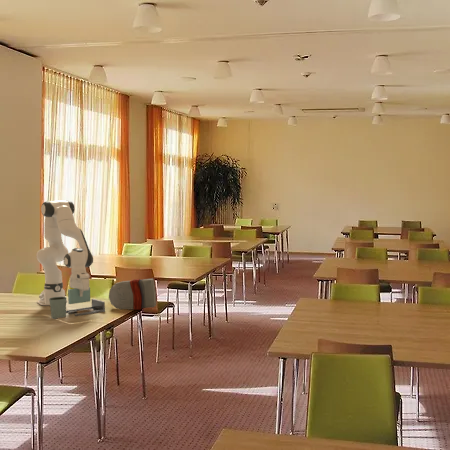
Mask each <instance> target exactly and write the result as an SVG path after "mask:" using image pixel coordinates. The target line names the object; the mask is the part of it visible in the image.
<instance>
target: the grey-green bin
mask: <svg viewBox="0 0 450 450" xmlns="http://www.w3.org/2000/svg"><path fill="white" fill-rule="evenodd" d="M66 300H67V296H65V297H53V298H50V299H49V301H50V305H49V306H50V314H51V316H50V317H51V319H52V320H58V319H60V318H65V317H67V313H66V310H67V302H66Z"/></svg>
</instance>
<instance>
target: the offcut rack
mask: <svg viewBox="0 0 450 450" xmlns="http://www.w3.org/2000/svg"><path fill="white" fill-rule="evenodd" d="M89 309H93V310H94V311H90V312H84V313H77V311H78V310H89ZM105 312H106V303H105V301H102V300H99V299H96V298H91V306H88V307H87V306H86V307H82V308H80V307H79V308H74V309H68V310H67V309H66V314H68V315H72V314H74V317H78V316H79V317H80V316H85V315H91V314H92V315H93V314H98V313H105Z"/></svg>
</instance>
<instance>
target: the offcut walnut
mask: <svg viewBox="0 0 450 450" xmlns="http://www.w3.org/2000/svg"><path fill="white" fill-rule="evenodd" d="M90 311H95V310H93V309H89V310H78V311H77V313H84V312H90ZM77 313H76V314H77Z"/></svg>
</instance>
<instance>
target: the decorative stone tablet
mask: <svg viewBox="0 0 450 450" xmlns="http://www.w3.org/2000/svg"><path fill="white" fill-rule="evenodd" d="M108 291H109V292H108V299H109V302H110V304H111V305H112V306H113V307H114V308H115V309H118V310H122V309H128V310H135V311H142V310H143V309H147V308H148V309H149V308H155V307H156V306H157V297H156V295H157V293H156V287H155V279H154V278H143V279H142V278H141V279H140V278H137V279H131V280H122V281H119V282H116V283H114V285H112V286H111V287H110V289H109V290H108Z"/></svg>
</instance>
